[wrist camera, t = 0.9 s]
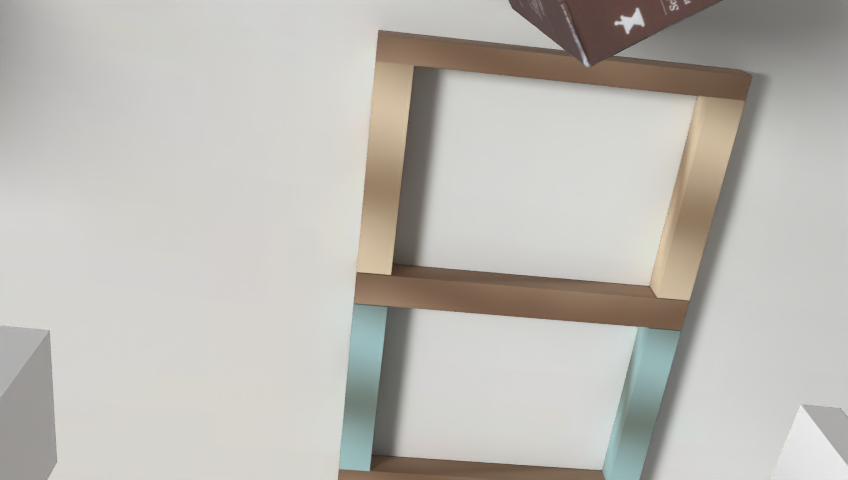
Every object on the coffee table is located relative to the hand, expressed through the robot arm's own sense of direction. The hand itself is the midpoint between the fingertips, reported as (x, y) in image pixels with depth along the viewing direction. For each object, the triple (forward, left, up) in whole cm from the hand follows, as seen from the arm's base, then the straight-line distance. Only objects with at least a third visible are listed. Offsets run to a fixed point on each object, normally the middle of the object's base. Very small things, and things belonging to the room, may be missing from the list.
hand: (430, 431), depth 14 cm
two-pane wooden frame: (+8, +6, -21) cm, 23 cm away
